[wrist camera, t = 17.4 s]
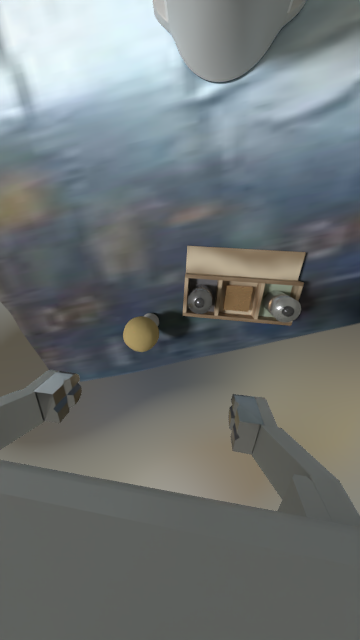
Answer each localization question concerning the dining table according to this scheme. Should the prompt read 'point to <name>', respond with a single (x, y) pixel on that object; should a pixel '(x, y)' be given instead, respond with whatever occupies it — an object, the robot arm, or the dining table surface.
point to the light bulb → (142, 332)
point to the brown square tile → (237, 298)
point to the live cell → (281, 306)
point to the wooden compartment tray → (242, 279)
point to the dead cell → (200, 299)
